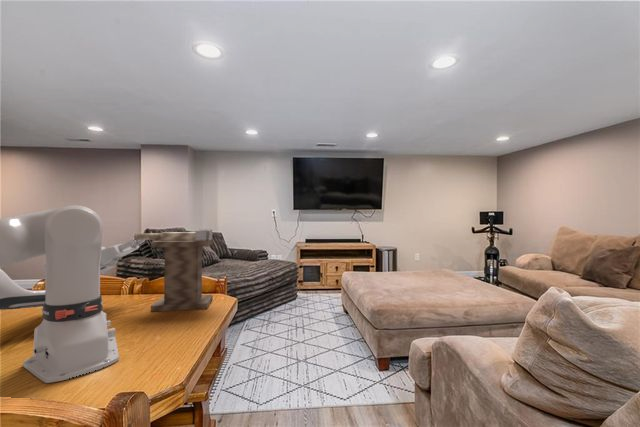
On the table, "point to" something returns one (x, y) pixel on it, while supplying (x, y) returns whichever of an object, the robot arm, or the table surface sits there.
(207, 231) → the cup bracket
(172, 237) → the ash rail
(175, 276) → the walnut stand
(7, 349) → the table surface
